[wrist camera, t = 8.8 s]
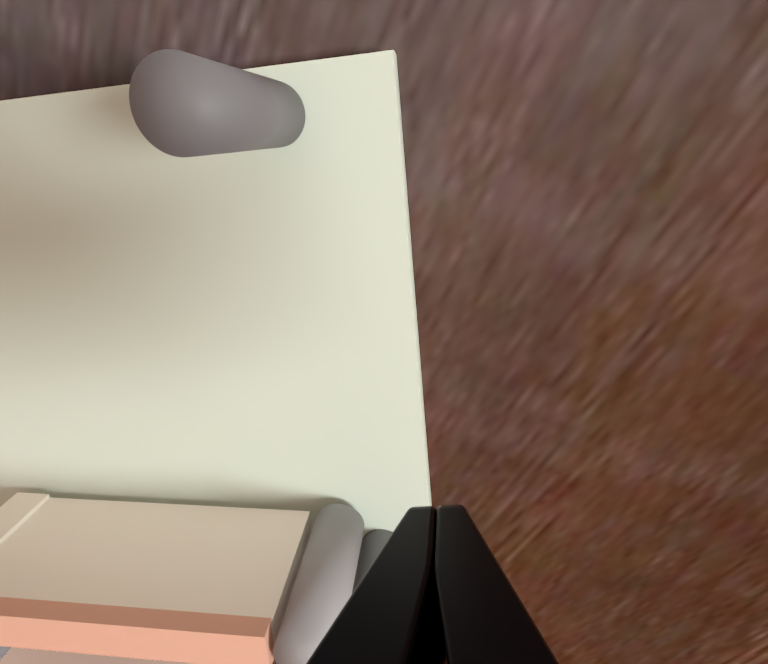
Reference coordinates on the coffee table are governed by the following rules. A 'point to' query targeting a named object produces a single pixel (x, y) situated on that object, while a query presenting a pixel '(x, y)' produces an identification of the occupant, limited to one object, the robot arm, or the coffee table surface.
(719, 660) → the coffee table surface
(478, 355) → the coffee table surface
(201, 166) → the gate base
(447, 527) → the robot arm
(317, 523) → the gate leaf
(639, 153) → the coffee table surface
